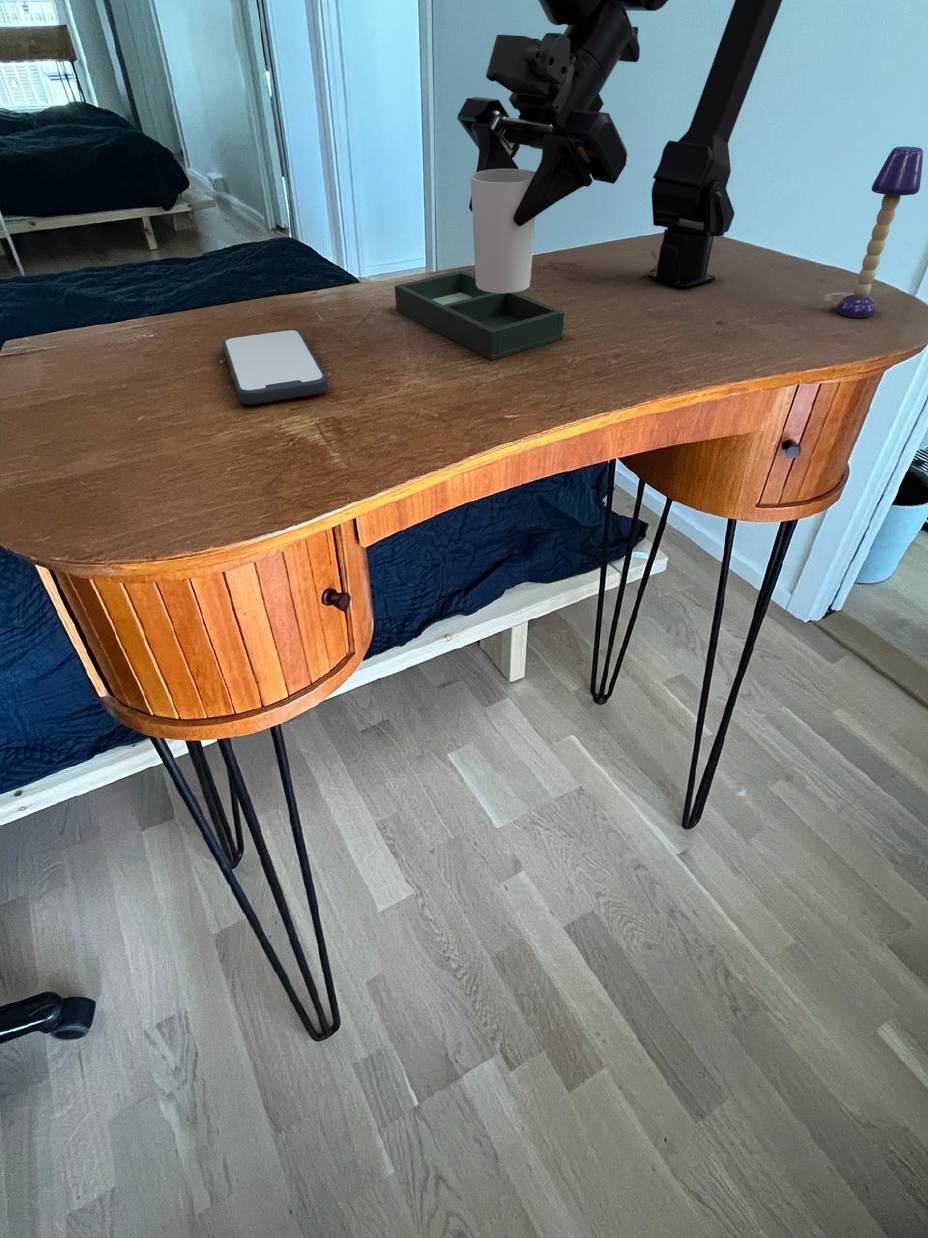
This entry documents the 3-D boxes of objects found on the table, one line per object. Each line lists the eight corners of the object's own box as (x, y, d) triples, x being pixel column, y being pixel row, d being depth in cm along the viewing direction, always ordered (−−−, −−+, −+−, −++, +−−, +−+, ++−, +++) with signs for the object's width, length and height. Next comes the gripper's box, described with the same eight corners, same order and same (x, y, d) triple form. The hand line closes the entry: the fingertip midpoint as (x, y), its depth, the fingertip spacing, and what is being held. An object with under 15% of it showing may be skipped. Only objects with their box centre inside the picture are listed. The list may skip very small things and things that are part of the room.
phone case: (223, 353, 79) (241, 410, 67) (219, 338, 78) (237, 393, 66) (302, 341, 81) (332, 395, 70) (299, 327, 80) (330, 379, 69)
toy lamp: (824, 309, 87) (875, 146, 75) (849, 302, 88) (903, 142, 77) (858, 320, 83) (917, 153, 72) (883, 313, 85) (944, 148, 74)
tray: (462, 294, 92) (462, 269, 90) (562, 339, 80) (564, 311, 78) (396, 310, 88) (394, 285, 86) (491, 360, 76) (491, 331, 74)
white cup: (531, 273, 78) (536, 167, 71) (537, 293, 73) (542, 181, 66) (471, 275, 78) (469, 169, 71) (472, 295, 73) (471, 183, 66)
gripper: (470, -9, 67) (386, 145, 69) (623, -10, 56) (519, 172, 59) (526, 86, 76) (450, 220, 78) (668, 101, 65) (576, 256, 68)
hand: (493, 217), depth 71 cm, fingers closed on white cup, 6 cm apart
